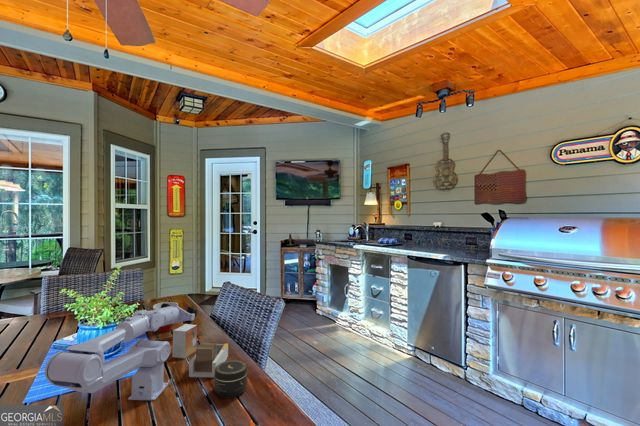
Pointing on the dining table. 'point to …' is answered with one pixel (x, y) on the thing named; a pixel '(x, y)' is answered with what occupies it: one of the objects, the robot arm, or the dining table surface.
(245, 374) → the jar
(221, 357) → the grey chute
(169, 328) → the plastic cup
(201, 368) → the walnut block
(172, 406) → the dining table surface
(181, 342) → the small box
